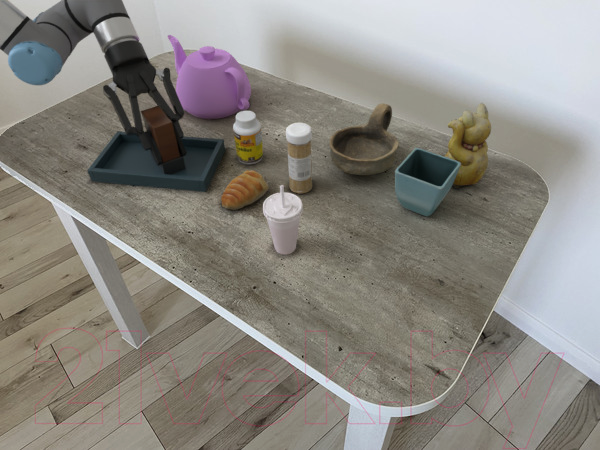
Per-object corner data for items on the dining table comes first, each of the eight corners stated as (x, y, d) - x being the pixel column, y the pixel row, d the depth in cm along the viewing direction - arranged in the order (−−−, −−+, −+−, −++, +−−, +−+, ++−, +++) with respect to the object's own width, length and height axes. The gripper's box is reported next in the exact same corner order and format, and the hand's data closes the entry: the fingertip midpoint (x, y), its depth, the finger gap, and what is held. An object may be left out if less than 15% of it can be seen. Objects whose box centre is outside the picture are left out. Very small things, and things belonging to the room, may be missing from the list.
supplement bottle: (232, 161, 101) (225, 118, 94) (246, 147, 104) (241, 105, 97) (254, 168, 99) (249, 126, 91) (268, 154, 102) (265, 112, 95)
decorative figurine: (458, 159, 99) (475, 93, 89) (493, 177, 95) (515, 110, 84) (429, 179, 95) (443, 112, 84) (464, 199, 90) (484, 131, 80)
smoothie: (268, 262, 80) (262, 199, 71) (264, 235, 85) (258, 173, 75) (306, 257, 81) (305, 194, 71) (300, 231, 86) (298, 168, 76)
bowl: (314, 172, 97) (314, 130, 90) (357, 131, 108) (360, 90, 101) (374, 196, 92) (379, 153, 85) (414, 151, 102) (421, 109, 95)
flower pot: (409, 184, 94) (415, 145, 88) (452, 200, 90) (462, 161, 84) (388, 209, 89) (393, 171, 83) (433, 228, 85) (442, 189, 79)
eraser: (151, 156, 101) (137, 110, 93) (171, 149, 103) (159, 103, 95) (165, 176, 96) (152, 129, 89) (185, 168, 98) (174, 122, 90)
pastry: (239, 218, 88) (237, 202, 86) (212, 204, 91) (209, 188, 89) (271, 190, 94) (270, 175, 91) (245, 178, 97) (242, 163, 94)
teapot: (274, 102, 117) (270, 47, 108) (222, 135, 108) (213, 78, 98) (203, 73, 129) (194, 21, 119) (151, 101, 119) (136, 47, 110)
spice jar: (311, 179, 96) (311, 120, 86) (312, 194, 93) (312, 135, 83) (288, 180, 96) (285, 121, 86) (288, 195, 93) (285, 136, 83)
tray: (91, 181, 97) (87, 170, 95) (121, 141, 107) (117, 130, 105) (206, 192, 94) (203, 181, 92) (225, 150, 104) (223, 139, 102)
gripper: (162, 45, 100) (208, 149, 102) (77, 68, 94) (128, 178, 95) (166, 28, 93) (216, 139, 95) (75, 51, 87) (129, 171, 88)
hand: (172, 159), depth 95 cm, fingers closed on eraser, 4 cm apart
